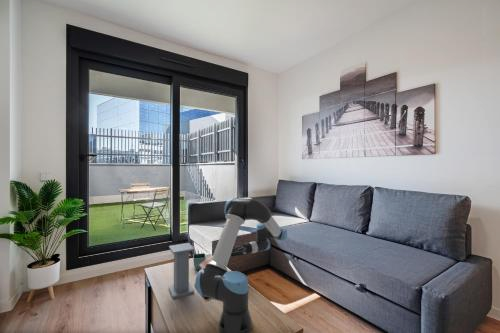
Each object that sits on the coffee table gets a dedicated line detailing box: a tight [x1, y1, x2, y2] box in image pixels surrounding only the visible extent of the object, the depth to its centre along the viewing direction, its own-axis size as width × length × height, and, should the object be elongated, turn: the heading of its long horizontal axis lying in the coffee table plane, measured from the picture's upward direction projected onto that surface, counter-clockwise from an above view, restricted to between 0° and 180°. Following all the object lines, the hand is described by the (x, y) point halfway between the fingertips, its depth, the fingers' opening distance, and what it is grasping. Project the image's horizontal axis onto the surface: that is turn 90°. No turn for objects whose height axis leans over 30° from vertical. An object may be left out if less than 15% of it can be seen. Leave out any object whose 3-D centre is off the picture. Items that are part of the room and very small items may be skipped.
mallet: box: [199, 248, 234, 270], centre depth 148 cm, size 23×9×7 cm, turn 120°
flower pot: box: [192, 252, 207, 271], centre depth 167 cm, size 9×9×9 cm
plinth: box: [168, 242, 195, 300], centre depth 136 cm, size 12×12×26 cm
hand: (218, 254), depth 148 cm, fingers closed on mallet, 2 cm apart
